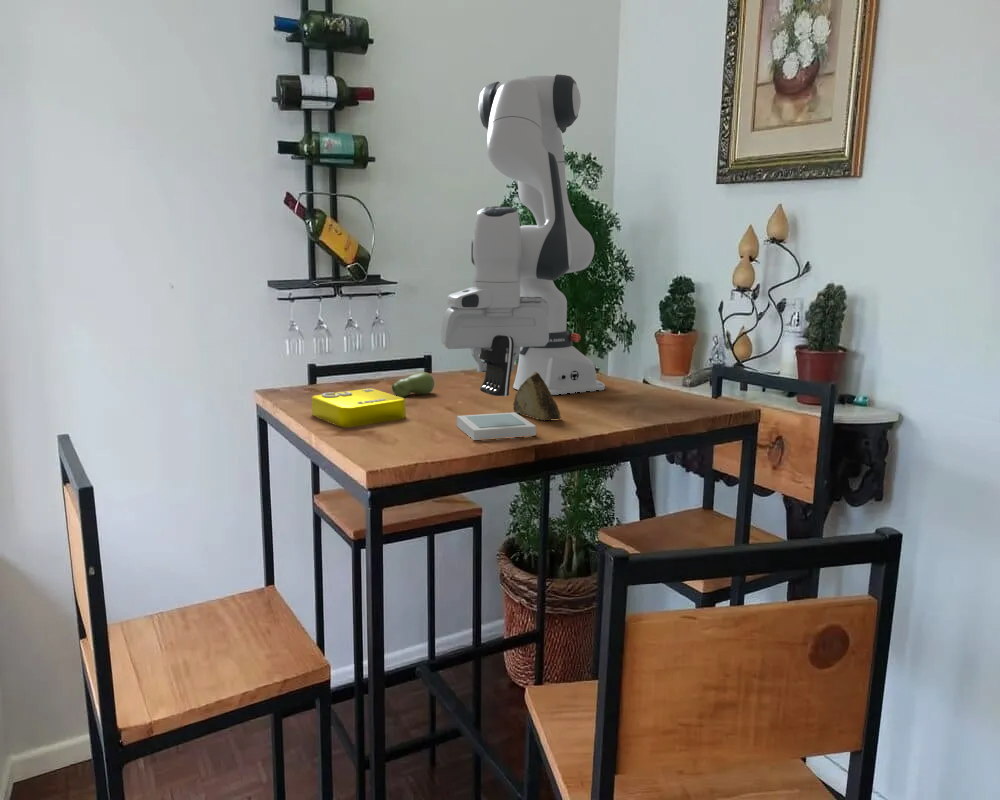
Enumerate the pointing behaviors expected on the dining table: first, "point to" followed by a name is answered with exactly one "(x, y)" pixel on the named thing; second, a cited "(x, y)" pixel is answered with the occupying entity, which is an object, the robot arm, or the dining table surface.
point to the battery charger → (498, 366)
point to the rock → (536, 399)
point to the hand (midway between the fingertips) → (495, 371)
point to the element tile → (358, 407)
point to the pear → (414, 384)
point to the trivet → (495, 426)
